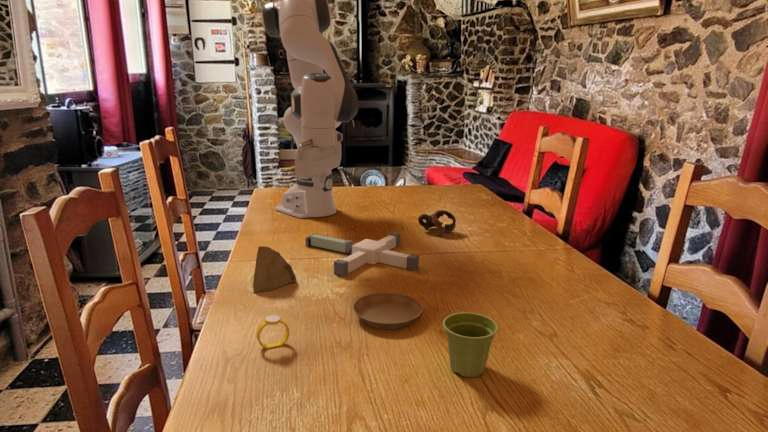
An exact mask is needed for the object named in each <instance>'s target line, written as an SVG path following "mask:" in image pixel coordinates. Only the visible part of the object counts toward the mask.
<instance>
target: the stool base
mask: <svg viewBox="0 0 768 432" xmlns="http://www.w3.org/2000/svg"><path fill="white" fill-rule="evenodd" d="M401 236H402V235H401V233H400V232H394V231H391V232H389V233H388V234H387V236H385V237H383V238H381V239H379V240H374V239H368V238H365V239H362V240H360V241H359V242H357V243H353V245H352V249H351V254H350V255H348V256H346V257H344V258H342V259H339V258H338V259H336V260H334V261H333V274H334V275H337V276H342V277H346V276H347V275H348V274H349V273H351V272H353V271H354V270H356V269H358V268H359V267H362V266H363V265H365V264H368V265H369V264H370V265H375V264H376V263H381V264H385V265H390V266H394V267H398V268H402V269H405V270H409V271H413V272H414V271H415V270H417V269H419V267H420V265H419V264H420V261H419V260H420V255H419V254H415V253H411V254H406V253H401V252H398V251H393V250H392V249H394V248H395V247H398V246H401Z"/></svg>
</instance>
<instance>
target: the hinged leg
mask: <svg viewBox="0 0 768 432" xmlns="http://www.w3.org/2000/svg"><path fill="white" fill-rule="evenodd" d="M313 234H314V235H313ZM313 234H311V235H312V236H311V235H310V236H311V247H312V246H313V247H317V248H322V249H327V250H330V251H335V252H340V253H345V254H348V255H349V254H350V255H351V249H352V245H354V240H351V239H342V238H336V237H331V236H328V235H325V236H323V235H324V234H321V235H318V234H319V233H313Z"/></svg>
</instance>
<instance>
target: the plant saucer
mask: <svg viewBox="0 0 768 432" xmlns="http://www.w3.org/2000/svg"><path fill="white" fill-rule="evenodd" d="M352 310H353V312H354V314H355V315H356V316H357V317H358V318H359V319H360V320H361V321H363V322H364V323H365V324H366V325H368V326H370V327H373V328H376V329H381V330H397V329H402V328H404V327H407V326H409V325H410V324H411V323H413V322H414V321H415V320H417V318H418V317H420V316H421V314H422V313H423V305H422V304H421V302H420V301H419V300H417V299H416V298H414V297H412V296H410V295H407V294H402V293H399V292H398V293H396V292H374V293H369V294H366V295H363V296H361V297H359V298H358V299H357V300H355V301H354V303H353V305H352Z"/></svg>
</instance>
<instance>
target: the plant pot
mask: <svg viewBox="0 0 768 432" xmlns="http://www.w3.org/2000/svg"><path fill="white" fill-rule="evenodd" d="M442 326H443V328H444V332H445V335H446V336H447V337H446V338H447V346H448V348H447V349H448V356H449V367H450V370H451V372H453V373H457V374H459V375H460V376H462V377H467V378H476V377H479V376H480V375H481V374H482V373H484V372H485V370H486V366H487V362H488V357H489V354H490V348H491V346H492V345H491V344H492V341H493V339H494V338H495V335H496V334H497V333H498V331H499V326H498V323H496V321H495V320H494V319H492V318H490V317H489V316H488V315H487V316H486V315H484V314H481V313H477V312H462V311H461V312H456V313H451V314H449V315H447V316H445V318H444V319H443V321H442Z"/></svg>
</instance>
